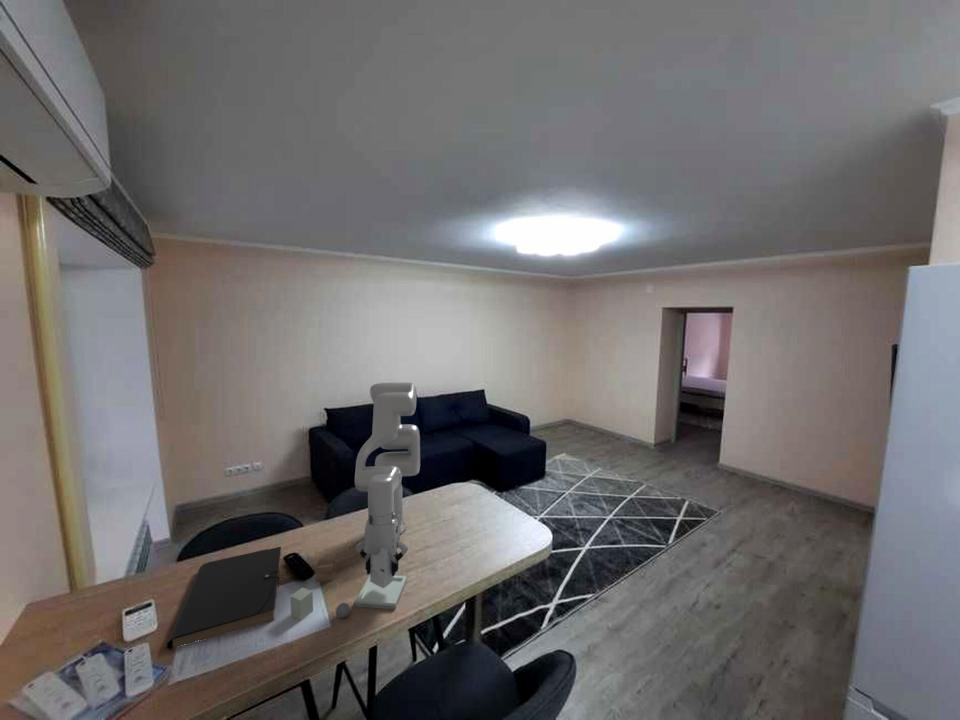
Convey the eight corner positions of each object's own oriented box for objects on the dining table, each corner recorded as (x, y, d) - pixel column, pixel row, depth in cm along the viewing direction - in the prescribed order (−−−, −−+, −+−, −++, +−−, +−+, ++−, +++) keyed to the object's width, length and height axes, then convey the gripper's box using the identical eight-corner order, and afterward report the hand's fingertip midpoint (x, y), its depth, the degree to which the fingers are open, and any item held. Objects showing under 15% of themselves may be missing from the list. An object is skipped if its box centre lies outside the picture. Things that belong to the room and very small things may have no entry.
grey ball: (339, 611, 109) (339, 599, 108) (351, 611, 108) (351, 600, 108) (333, 620, 105) (333, 608, 105) (346, 621, 105) (346, 609, 105)
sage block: (303, 606, 110) (302, 587, 110) (313, 611, 109) (312, 591, 108) (291, 616, 107) (290, 596, 106) (301, 620, 105) (300, 600, 105)
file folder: (274, 608, 105) (165, 638, 95) (275, 621, 105) (167, 653, 95) (281, 545, 135) (199, 563, 125) (282, 556, 135) (200, 575, 125)
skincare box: (369, 582, 115) (368, 544, 114) (380, 574, 119) (379, 537, 118) (384, 589, 112) (383, 550, 111) (394, 580, 116) (394, 542, 115)
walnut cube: (319, 572, 126) (319, 558, 125) (335, 571, 127) (335, 556, 126) (316, 582, 121) (315, 567, 120) (332, 580, 122) (332, 566, 121)
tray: (370, 579, 123) (370, 573, 122) (406, 581, 122) (406, 576, 121) (355, 606, 111) (355, 600, 110) (395, 609, 110) (395, 603, 110)
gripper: (412, 511, 117) (413, 566, 118) (358, 509, 118) (359, 563, 120) (406, 524, 110) (406, 582, 111) (348, 521, 111) (349, 578, 112)
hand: (382, 572), depth 115 cm, fingers closed on skincare box, 7 cm apart
